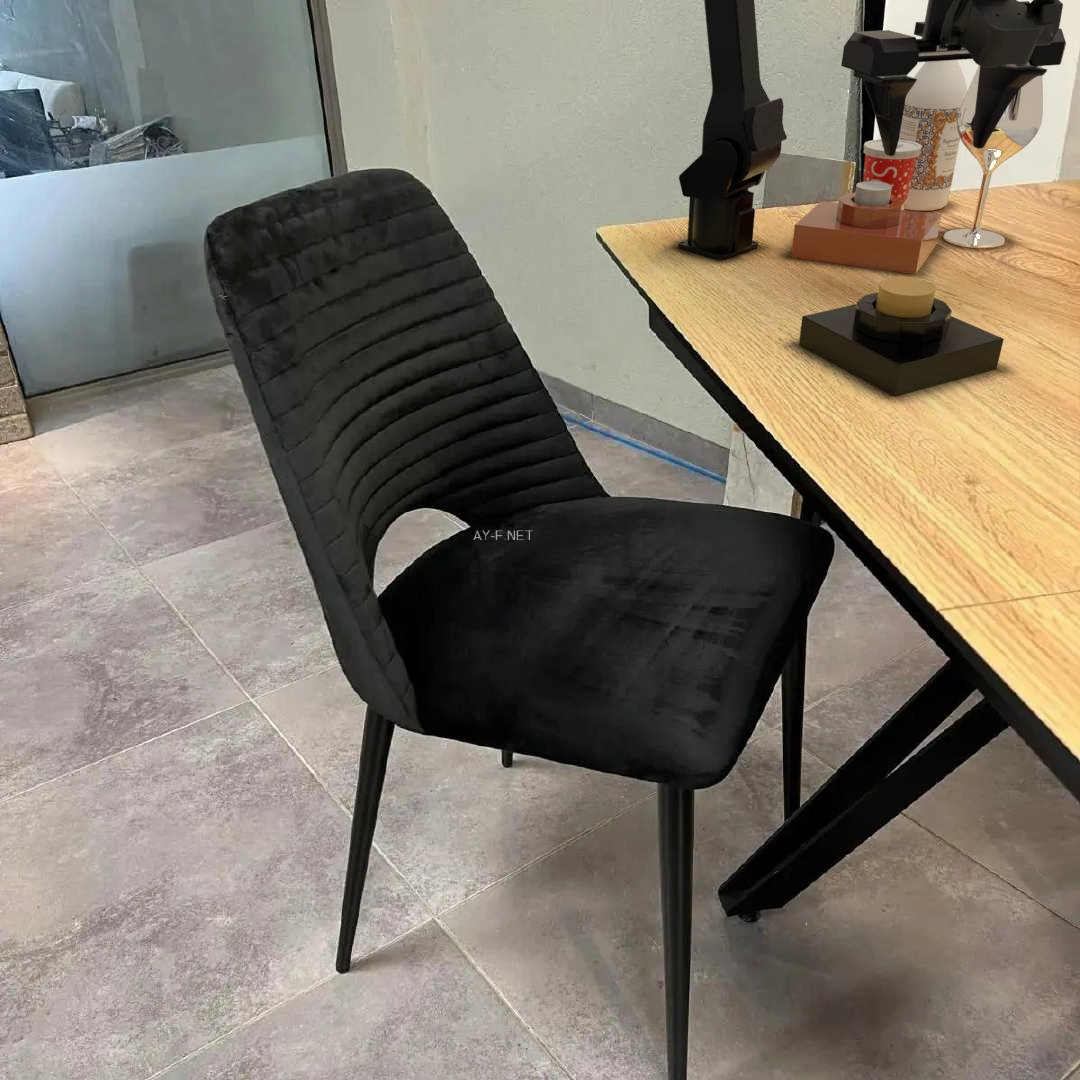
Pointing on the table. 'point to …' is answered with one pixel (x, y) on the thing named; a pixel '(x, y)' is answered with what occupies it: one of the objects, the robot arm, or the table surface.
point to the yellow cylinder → (905, 297)
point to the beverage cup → (891, 165)
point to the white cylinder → (872, 193)
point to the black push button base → (900, 345)
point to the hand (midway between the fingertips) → (934, 151)
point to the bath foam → (933, 132)
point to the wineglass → (996, 149)
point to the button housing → (867, 235)
